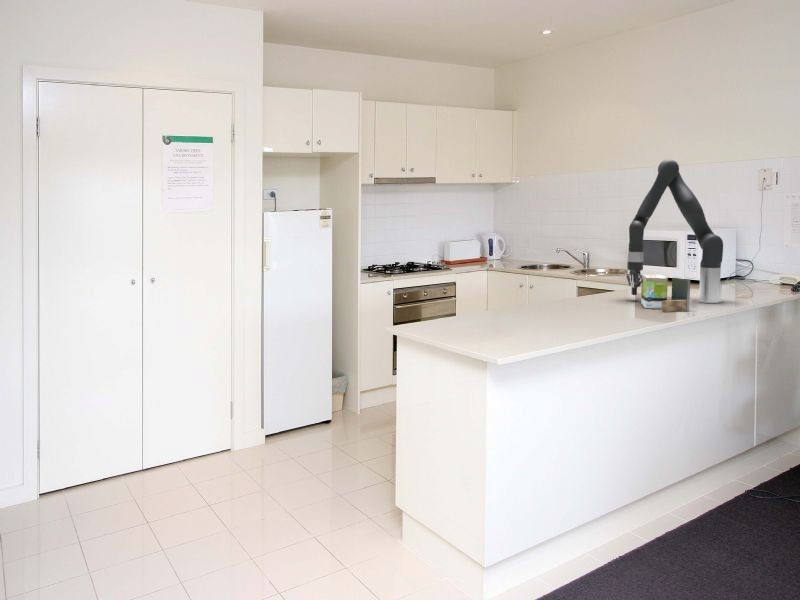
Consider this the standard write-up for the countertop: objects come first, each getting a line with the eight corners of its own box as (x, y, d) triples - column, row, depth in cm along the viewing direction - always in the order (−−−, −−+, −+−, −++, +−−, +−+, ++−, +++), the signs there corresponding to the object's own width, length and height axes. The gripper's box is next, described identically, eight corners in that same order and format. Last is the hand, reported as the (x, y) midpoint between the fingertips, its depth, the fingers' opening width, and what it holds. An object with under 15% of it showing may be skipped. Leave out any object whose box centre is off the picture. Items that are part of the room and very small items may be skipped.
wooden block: (685, 310, 320) (686, 299, 319) (687, 311, 318) (687, 300, 317) (661, 311, 318) (661, 300, 317) (663, 312, 316) (663, 301, 316)
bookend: (673, 306, 331) (674, 277, 329) (689, 310, 318) (690, 280, 316) (671, 307, 331) (672, 277, 329) (686, 311, 318) (687, 280, 316)
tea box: (667, 308, 326) (668, 277, 324) (644, 308, 328) (645, 277, 326) (662, 304, 340) (663, 274, 338) (640, 304, 342) (641, 274, 340)
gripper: (649, 261, 343) (647, 296, 346) (635, 259, 356) (634, 293, 359) (635, 262, 342) (633, 296, 344) (622, 259, 355) (620, 293, 357)
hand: (634, 294), depth 352 cm, fingers closed
